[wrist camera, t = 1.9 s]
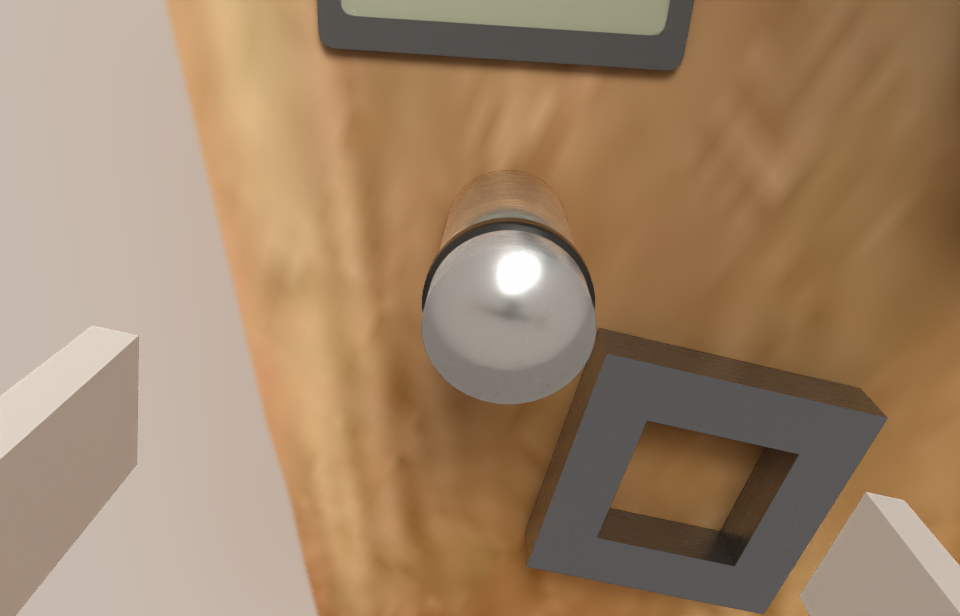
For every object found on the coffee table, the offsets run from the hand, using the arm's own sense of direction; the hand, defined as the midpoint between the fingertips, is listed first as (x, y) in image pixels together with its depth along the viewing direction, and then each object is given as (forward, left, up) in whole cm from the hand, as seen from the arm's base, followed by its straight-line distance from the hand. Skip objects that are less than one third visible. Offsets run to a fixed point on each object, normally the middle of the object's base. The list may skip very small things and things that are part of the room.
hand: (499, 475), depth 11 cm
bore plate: (+8, +10, -13) cm, 19 cm away
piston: (0, 0, -13) cm, 13 cm away
